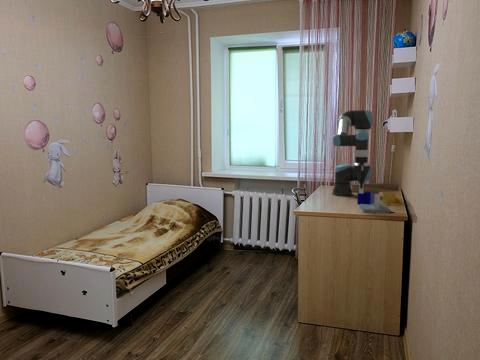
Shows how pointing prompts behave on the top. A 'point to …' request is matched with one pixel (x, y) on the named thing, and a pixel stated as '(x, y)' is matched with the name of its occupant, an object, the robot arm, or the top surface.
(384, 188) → the walnut batten
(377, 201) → the steel ridge
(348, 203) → the top surface
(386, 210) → the slate base
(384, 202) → the dollhouse swing
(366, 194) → the puzzle cube
